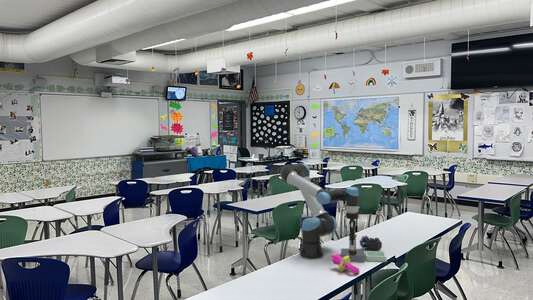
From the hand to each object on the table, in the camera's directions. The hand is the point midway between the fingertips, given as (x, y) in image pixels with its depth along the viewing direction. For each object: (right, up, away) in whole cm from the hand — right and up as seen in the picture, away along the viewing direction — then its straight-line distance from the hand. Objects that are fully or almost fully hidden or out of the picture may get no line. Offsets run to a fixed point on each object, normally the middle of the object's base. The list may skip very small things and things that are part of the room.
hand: (352, 248), depth 261 cm
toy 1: (-9, -8, -21) cm, 24 cm away
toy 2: (+15, -5, +16) cm, 22 cm away
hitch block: (0, -6, 0) cm, 6 cm away
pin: (0, -6, 0) cm, 6 cm away
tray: (+14, -6, -2) cm, 15 cm away
